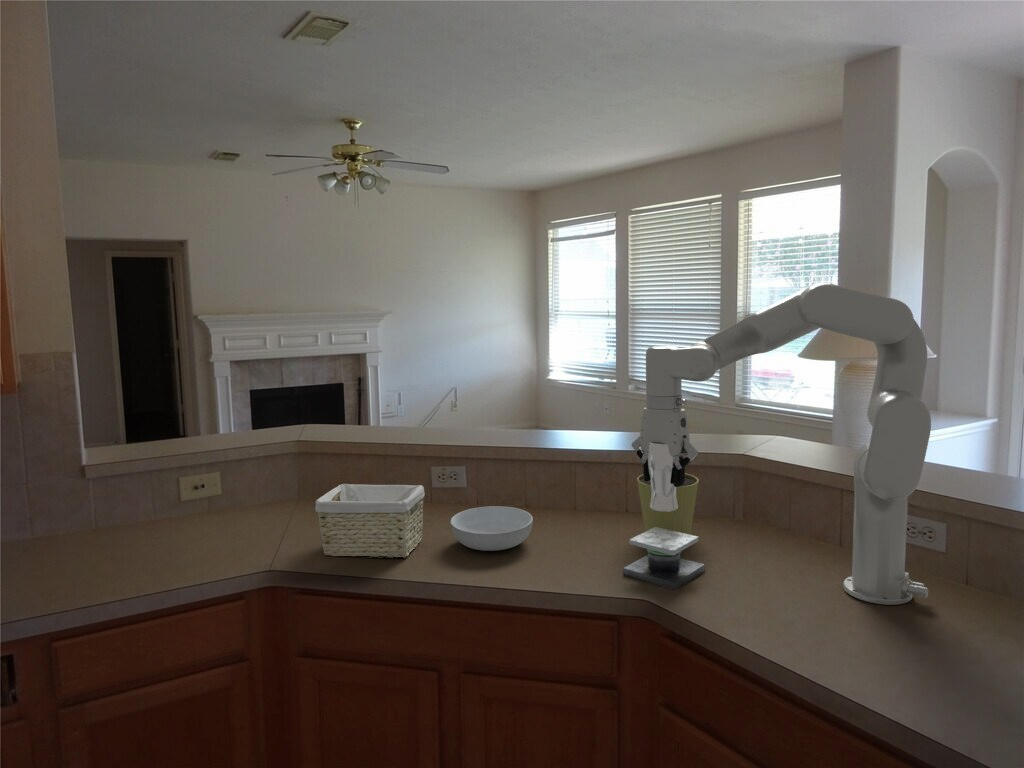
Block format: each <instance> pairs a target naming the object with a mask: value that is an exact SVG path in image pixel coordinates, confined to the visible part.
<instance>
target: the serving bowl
mask: <svg viewBox="0 0 1024 768" xmlns="http://www.w3.org/2000/svg"><path fill="white" fill-rule="evenodd" d="M533 518H534V517H533V516H532V514H531V513H529V512H528V511H527V510H524V509H522V508H517V507H513V506H501V505H499V506H498V505H496V506H495V505H493V506H492V505H489V506H479V507H474V508H469V509H466V510H463V511H460V512H458V513H455V514H454V516H452V517H451V518H450V527H451V531H452V534H453V535H454V537H455V538H456V540H457V541H458V543H460V544H461V545H463V546H465V547H467V548H470V549H472V550H476V551H477V550H479V551H485V552H486V551H489V552H490V551H491V552H492V551H493V552H494V551H502V550H507V549H511V548H514V547H516V546H518V545H520V544H522V543H523V542H524V541H525V540H527V538H528V537H529V535H530V533H531V531H532V528H533V524H534V523H533V522H534V520H533Z"/></svg>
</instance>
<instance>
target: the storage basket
mask: <svg viewBox="0 0 1024 768" xmlns="http://www.w3.org/2000/svg"><path fill="white" fill-rule="evenodd" d="M425 494H426V493H425V487H424V486H423V485H422V484H421V485H420V484H418V485H410V484H357V483H356V484H353V483H352V484H348V483H342V484H338V486H336V487H334V488H332V489H331V490H329V491H328V492H326V493H324V495H322V496H320V497H319V498H318V499H316V500H315V512H316V513H317V515H318V521H319V523H318V524H319V533H320V535H321V537H320V540H321V541H322V549H323V554H324V553H331V554H349V555H361V556H387V557H388V556H389V557H388V558H393V557H396V558H397V557H403V558H407V557H409V555H410V554H411V553H412V552H413V551H414V550H413V549H415V548H414V547H416V548H417V547H418V545H419V544H420V542H421V541H422V540H421V539H423V523H424V522H423V520H424V519H423V515H424V513H423V512H424V510H423V506H424V498H425V496H426V495H425ZM418 543H419V544H418ZM412 550H413V551H412ZM411 551H412V552H411ZM410 552H411V553H410ZM409 553H410V554H409ZM390 556H392V557H390ZM406 556H407V557H406ZM387 557H386V558H387Z"/></svg>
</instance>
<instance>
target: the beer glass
mask: <svg viewBox="0 0 1024 768" xmlns="http://www.w3.org/2000/svg"><path fill="white" fill-rule="evenodd" d="M674 469H676V466H675V463H674V460H673V456H671V455H670V452H669V449H668V444H657V443H652V442H649V447H648V470H649V476H650V481H651V488H652V496H651V502H650V508H651V509H653V510H657V511H674V510H676V509H677V508H678V503H677V497H676V487H675V486H674Z"/></svg>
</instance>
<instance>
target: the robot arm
mask: <svg viewBox="0 0 1024 768" xmlns="http://www.w3.org/2000/svg"><path fill="white" fill-rule="evenodd" d="M819 329H823V330H826V331H830V332H833V333H837V334H841V335H845V336H849V337H851V338H852V337H853V338H858V339H859V340H860V339H862V340H865V341H868V342H871V343H872V342H873V343H874V346H875V348H876V351H877V352H876V353H877V360H876V361H877V362H876V363H877V364H876V369H875V374H874V375H875V377H874V381H873V386H872V388H871V389H872V390H871V395H870V398H869V402H868V406H867V410H866V411H867V414H866V415H867V419H868V422H869V424H870V425H871V426H872V429H871V435H870V438H869V439H870V440H869V441H867V442H865V443H864V444H863V445H861V446H860V447H859V448H858V450H857V452H856V454H855V456H854V460H853V486H854V502H853V503H854V505H853V506H854V507H853V511H854V513H853V530H852V531H853V535H852V537H853V538H852V560H851V561H852V565H851V576H847V578H845V579H844V580H843V587H842V589H844V591H845V592H846V593H847V594H848V595H850V596H851V597H854V598H856V599H857V600H861V601H863V602H868V603H871V604H876V605H886V606H887V605H889V606H896V605H903V604H906V603H908V602H910V601H912V599H913V596H915V595H916V596H917V597H921V598H925V599H928V596H929V588H928V587H925V583H922V582H918V581H912V579H910V573H909V572H907V571H906V551H907V550H906V549H907V546H906V545H907V531H908V530H907V525H908V523H907V522H908V504H909V503H908V497H909V496H910V495H912V494H913V492H914V491H915V490H916V489H917V487H918V485H919V483H920V480H921V476H922V473H923V467H924V464H925V460H926V455H927V450H928V446H929V440H930V435H931V431H932V417H931V414H930V413H931V412H930V410H929V407H927V405H926V404H925V402H924V401H922V396H923V395H922V394H923V389H924V385H925V384H924V383H925V378H926V372H927V363H928V346H927V341H926V338H925V336H924V334H923V331H922V329H921V327H920V325H919V324H918V323H917V321H916V320H915V319H914V314H913V312H912V310H911V308H910V307H909V306H908V305H907V304H905V302H903V301H901V300H899V299H896V298H892V297H887V296H882V295H877V294H873V293H869V292H865V291H860V290H856V289H852V288H848V287H844V286H842V285H841V286H840V285H837V284H835V283H829V282H817V283H813V284H810V285H808V286H807V287H804V288H803V289H801V290H798V291H797V292H795V293H792V294H791V295H788V296H787V297H784V298H782V299H781V300H778V301H776V302H775V303H772V304H770V305H767V306H766V307H764V308H762V309H760V310H757V311H756V312H754V313H751V314H750V315H748V316H747V317H745V318H742V320H740V321H738V322H737V323H735V324H733V325H731V326H728V327H727V328H724V329H722V330H720V331H718V332H715V333H713V334H712V335H710V336H708V337H706V338H704V339H702V340H699V341H698V342H696V343H695V344H692V345H691V346H689V347H678V346H676V345H668V344H667V345H653V346H650V347H648V348H647V349H646V351H645V407H644V408H643V411H642V414H641V415H642V416H641V422H640V431H639V434H640V435H639V437H637V438H636V439H635V440H634V441H633V442H632V443H631V447H632V448H633V450H634V451H635V452H636V455H637V456H638V458H639V459H640V462H641V463H642V465H643V474H644V481H650V476H649V470H648V447H649V442H652V443H657V444H668V449H669V452H670V455H671V456H673V460H674V463H675V466H676V469H674V486H675V487H679V486H681V485H683V484H684V481H685V473H686V467H687V466H688V465H689V464H690V463H691V462H692V461H693V460H694V459H695V458H696V456H698V454H699V451H698V450H697V449H696V448H695V447H694V446H693V445H692V444H691V442H690V433H689V432H690V428H689V422H688V417H687V412H686V409H684V408H682V407H683V406H686V405H687V403H688V402H687V399H685V398H683V395H682V380H683V381H691V382H696V383H698V382H705V381H708V380H710V379H711V378H713V377H714V376H715V374H716V373H717V371H719V370H721V369H723V368H725V367H728V366H729V365H731V364H733V363H736V362H738V361H740V360H743V359H745V358H748V357H750V356H754V355H760V354H765V353H769V352H771V351H774V350H777V349H779V348H781V347H783V346H785V345H787V344H789V343H790V342H794V341H795V340H797V339H800V338H801V337H804V336H806V335H809V334H810V333H812V332H815V331H817V330H819ZM685 454H687V455H686V456H685Z"/></svg>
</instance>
